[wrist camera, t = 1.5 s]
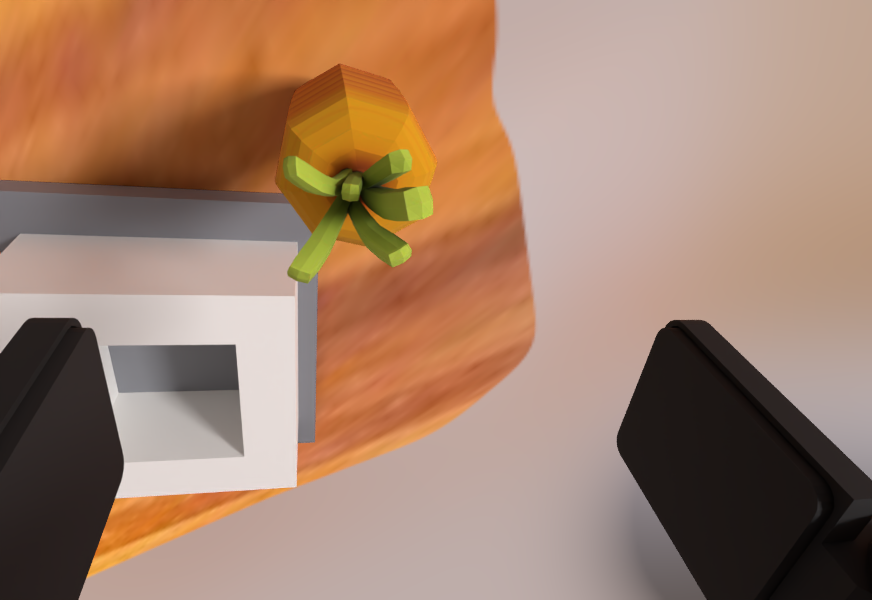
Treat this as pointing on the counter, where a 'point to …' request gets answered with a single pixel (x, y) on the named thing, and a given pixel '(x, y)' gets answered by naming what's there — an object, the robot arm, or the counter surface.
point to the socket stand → (176, 322)
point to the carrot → (353, 167)
